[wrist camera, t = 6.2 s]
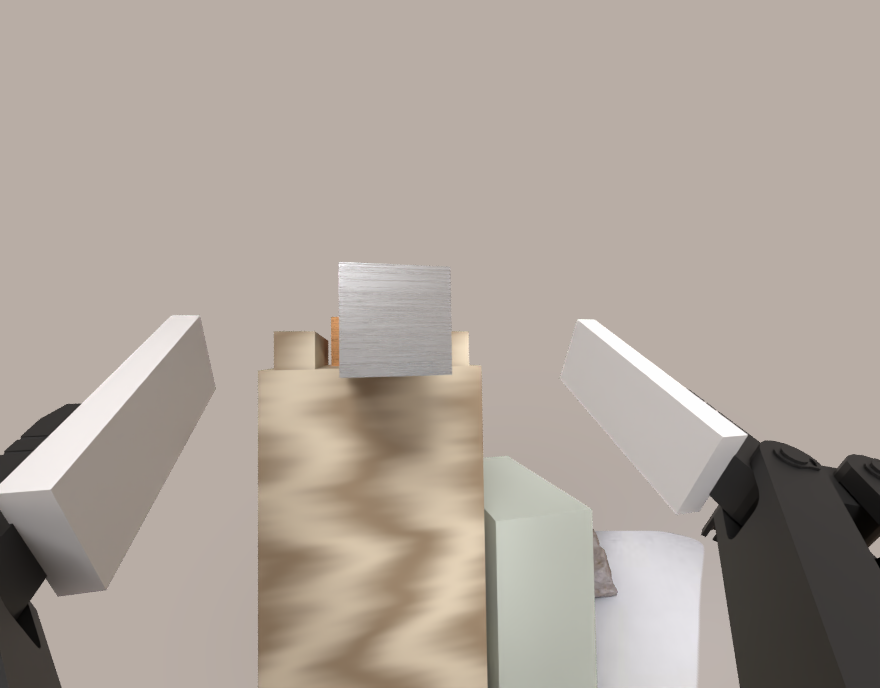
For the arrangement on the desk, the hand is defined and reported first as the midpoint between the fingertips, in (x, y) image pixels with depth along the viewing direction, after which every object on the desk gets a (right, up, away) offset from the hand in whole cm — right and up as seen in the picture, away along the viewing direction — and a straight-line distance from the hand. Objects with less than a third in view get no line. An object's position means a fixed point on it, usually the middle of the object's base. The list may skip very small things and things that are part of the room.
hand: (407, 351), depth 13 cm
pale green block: (+7, -31, +17) cm, 36 cm away
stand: (-3, -31, +12) cm, 34 cm away
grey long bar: (-3, -1, +9) cm, 9 cm away
